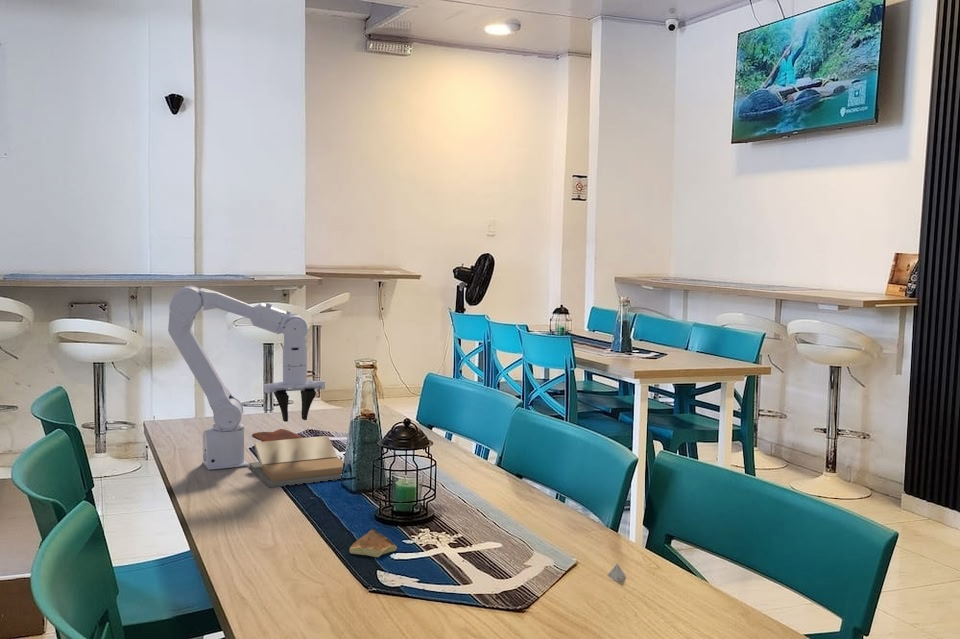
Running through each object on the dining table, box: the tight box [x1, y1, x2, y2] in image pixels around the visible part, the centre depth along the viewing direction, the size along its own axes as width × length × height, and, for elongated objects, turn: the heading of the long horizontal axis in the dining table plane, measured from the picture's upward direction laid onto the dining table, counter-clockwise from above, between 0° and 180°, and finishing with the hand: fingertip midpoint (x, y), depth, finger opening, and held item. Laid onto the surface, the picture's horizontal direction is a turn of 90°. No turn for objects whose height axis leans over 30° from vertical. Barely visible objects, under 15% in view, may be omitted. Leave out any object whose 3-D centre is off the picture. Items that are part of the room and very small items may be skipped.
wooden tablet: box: [251, 428, 304, 442], centre depth 235 cm, size 27×10×2 cm, turn 39°
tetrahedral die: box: [607, 563, 627, 583], centre depth 147 cm, size 4×3×3 cm
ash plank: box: [253, 435, 339, 469], centre depth 210 cm, size 18×8×2 cm, turn 118°
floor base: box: [248, 457, 344, 489], centre depth 207 cm, size 20×19×2 cm
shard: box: [349, 528, 398, 558], centre depth 160 cm, size 11×8×2 cm
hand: (294, 420), depth 214 cm, fingers open, 4 cm apart
